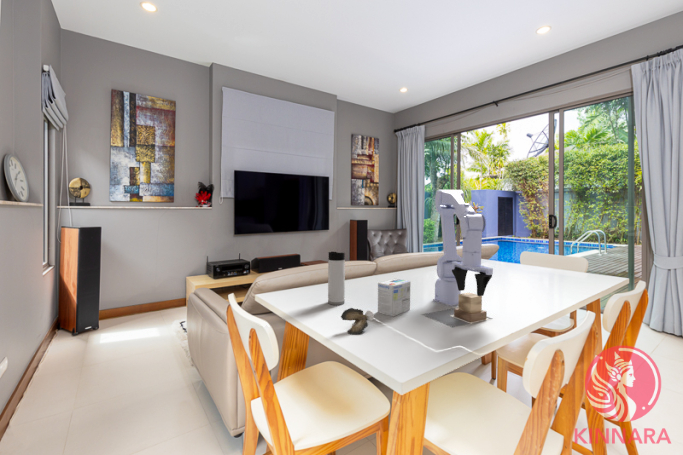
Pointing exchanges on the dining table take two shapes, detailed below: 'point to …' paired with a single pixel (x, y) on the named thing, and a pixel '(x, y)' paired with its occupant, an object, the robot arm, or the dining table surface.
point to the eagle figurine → (357, 319)
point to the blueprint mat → (449, 318)
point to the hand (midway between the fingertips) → (470, 292)
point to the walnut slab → (470, 315)
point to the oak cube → (470, 302)
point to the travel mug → (336, 278)
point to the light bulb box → (393, 297)
